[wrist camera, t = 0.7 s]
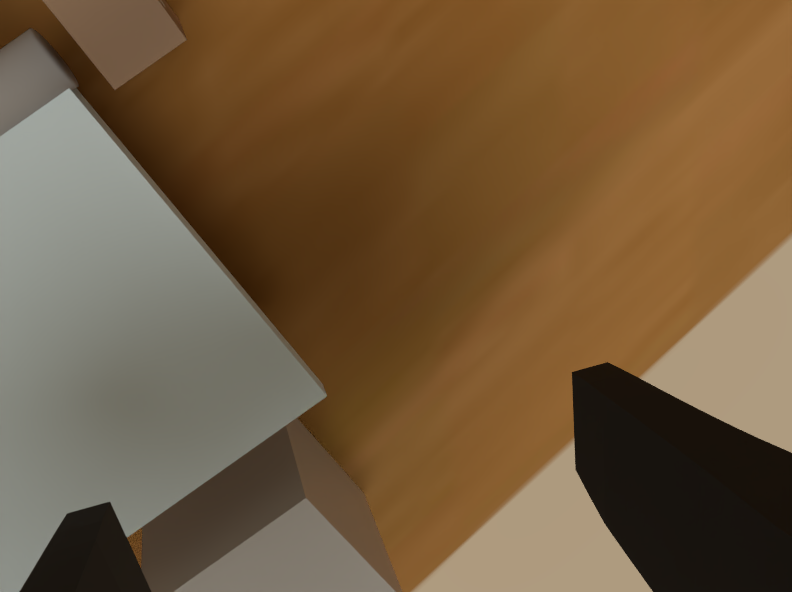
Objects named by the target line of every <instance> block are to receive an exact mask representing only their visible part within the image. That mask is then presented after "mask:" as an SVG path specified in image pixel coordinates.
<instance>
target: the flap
mask: <svg viewBox="0 0 792 592" xmlns="http://www.w3.org/2000/svg"><path fill="white" fill-rule="evenodd" d="M78 86H79V85H78V82H77V80H76V78H75V76H74V74H73V73H72V71H71V70H70V68H69V67H68V66H67V64H66V63H65V62H64V60H63V59H62V58H61V57H60V55H59V54H58V53H57V52H56V51H55V49H54V48H53V47H52V46H51V45H50V44H49V43H48V42H47V41H46V40H45V39H44V38H43V37H42V36H41V35H40V34H39V33H38V32H37V31H35V30H34V29H32V28H30V29H28V30H27V31H26V32H24V33H23V34H21V35H20V36H18V37H17V38H16V39H14V40H13V41H11V42H10V43H8V44H7V45H6V46H4V47H3V48H1V49H0V592H19V591H20V590H21V588H22V586H23V585H24V583H25V582H26V580H27V578H28V577H29V575H30V573H31V572H32V570H33V568H34V567H35V565H36V563H37V562H38V560H39V558H40V557H41V555H42V553H43V552H44V550H45V548H46V547H47V545H48V543H49V541H50V540H51V538H52V537H53V535H54V533H55V532H56V530H57V528H58V527H59V525H60V524H61V522H62V520H63V519H64V517H65V516H66V514H67V513H70V512H74V511H78V510H81V509H85V508H88V507H92V506H96V505H99V504H103V503H106V502H110V503H111V505H112V507H113V509H114V511H115V513H116V516H117V518H118V520H119V522H120V524H121V526H122V529H123V531H124V533H125V535H126V537H128V536H130V535H131V534H133V533H134V532H136V531H137V530H138V529H140V528H141V527H143V526H144V525H145V524H147V523H148V522H150V521H151V520H153V519H154V518H155V517H157V516H158V515H160V514H161V513H162V512H164V511H165V510H167V509H168V508H170V507H171V506H172V505H174V504H175V503H177V502H178V501H179V500H181V499H182V498H184V497H185V496H187V495H188V494H189V493H191V492H192V491H194V490H195V489H196V488H198V487H199V486H201V485H202V484H204V483H205V482H206V481H208V480H209V479H211V478H212V477H213V476H215V475H216V474H218V473H219V472H221V471H222V470H223V469H225V468H226V467H228V466H229V465H230V464H232V463H233V462H235V461H236V460H238V459H239V458H240V457H242V456H243V455H245V454H246V453H247V452H249V451H250V450H252V449H253V448H255V447H256V446H257V445H259V444H260V443H262V442H263V441H264V440H266V439H267V438H269V437H270V436H272V435H273V434H274V433H276V432H277V431H279V430H280V429H281V428H283V427H284V426H286V425H287V424H289V423H290V422H291V421H293V420H294V419H296V418H297V417H298V416H300V415H301V414H303V413H304V412H306V411H307V410H308V409H310V408H311V407H313V406H314V405H315V404H317V403H318V402H320V401H321V400H323V399H324V398H325V397H327V394H326V392H325V389H324V387H323V384H322V383H321V381H320V380H319V379H318V378H317V377H316V375H315V374H314V373H313V372H312V371H311V369H310V368H309V367H308V366H307V365H306V363H305V362H304V361H303V360H302V359H301V357H300V356H299V355H298V354H297V353H296V351H295V350H294V349H293V348H292V347H291V345H290V344H289V343H288V342H287V341H286V339H285V338H284V337H283V336H282V335H281V333H280V332H279V331H278V330H277V329H276V327H275V326H274V325H273V324H272V323H271V321H270V320H269V319H268V318H267V317H266V315H265V314H264V313H263V312H262V311H261V309H260V308H259V307H258V306H257V305H256V303H255V302H254V301H253V300H252V298H251V297H250V296H249V295H248V294H247V292H246V291H245V290H244V289H243V288H242V286H241V285H240V284H239V283H238V282H237V280H236V279H235V278H234V277H233V276H232V274H231V273H230V272H229V271H228V270H227V268H226V267H225V266H224V265H223V264H222V262H221V261H220V260H219V259H218V258H217V256H216V255H215V254H214V253H213V252H212V250H211V249H210V248H209V247H208V246H207V244H206V243H205V242H204V241H203V240H202V238H201V237H200V236H199V235H198V234H197V232H196V231H195V230H194V229H193V228H192V226H191V225H190V224H189V223H188V222H187V220H186V219H185V218H184V217H183V216H182V214H181V213H180V212H179V211H178V210H177V208H176V207H175V206H174V205H173V204H172V202H171V201H170V200H169V199H168V198H167V196H166V195H165V194H164V193H163V192H162V190H161V189H160V188H159V187H158V186H157V184H156V183H155V182H154V181H153V180H152V178H151V177H150V176H149V175H148V174H147V172H146V171H145V170H144V169H143V168H142V166H141V165H140V164H139V163H138V162H137V160H136V159H135V158H134V157H133V156H132V154H131V153H130V152H129V151H128V150H127V148H126V147H125V146H124V145H123V144H122V142H121V141H120V140H119V139H118V137H117V136H116V135H115V134H114V133H113V131H112V130H111V129H110V128H109V127H108V125H107V124H106V123H105V122H104V121H103V119H102V118H101V117H100V116H99V115H98V113H97V112H96V111H95V110H94V109H93V107H92V106H91V105H90V104H89V103H88V101H87V100H86V99H85V98H84V97H83V95H82V94H81V93H80V92H79V91H78V89H77V87H78Z"/></svg>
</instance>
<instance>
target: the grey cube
mask: <svg viewBox="0 0 792 592" xmlns="http://www.w3.org/2000/svg"><path fill="white" fill-rule="evenodd" d="M141 570H142V572H143V574H144V577H145V579H146V581H147V583H148V585H149V587H150V590H151V592H402V590H401V587H400V585H399V582H398V580H397V577H396V574H395V572H394V569H393V567H392V564H391V562H390V559H389V556H388V554H387V551H386V549H385V546H384V544H383V541H382V538H381V536H380V533H379V531H378V528H377V526H376V523H375V521H374V518H373V515H372V513H371V510H370V508H369V505H368V503H367V500H366V497H365V495H364V493H363V492H362V491H361V489H360V488H359V487H358V486H357V485H356V484H355V483H354V482H353V480H352V479H351V478H350V477H349V476H348V475H347V474H346V473H345V471H344V470H343V469H342V468H341V467H340V466H339V465H338V464H337V462H336V461H335V460H334V459H333V458H332V457H331V456H330V455H329V453H328V452H327V451H326V450H325V449H324V448H323V447H322V446H321V444H320V443H319V442H318V441H317V440H316V439H315V438H314V437H313V435H312V434H311V433H310V432H309V431H308V430H307V429H306V428H305V426H304V425H303V424H302V423H301V422H300V421H299V420H298V418H296V419H294V420H293V421H291V422H290V423H289V424H287V425H286V426H284V427H283V428H281V429H280V430H279V431H277V432H276V433H274V434H273V435H272V436H270V437H269V438H267V439H266V440H264V441H263V442H262V443H260V444H259V445H257V446H256V447H255V448H253V449H252V450H250V451H249V452H247V453H246V454H245V455H243V456H242V457H240V458H239V459H238V460H236V461H235V462H233V463H232V464H230V465H229V466H228V467H226V468H225V469H223V470H222V471H221V472H219V473H218V474H216V475H215V476H213V477H212V478H211V479H209V480H208V481H206V482H205V483H204V484H202V485H201V486H199V487H198V488H196V489H195V490H194V491H192V492H191V493H189V494H188V495H187V496H185V497H184V498H182V499H181V500H179V501H178V502H177V503H175V504H174V505H172V506H171V507H170V508H168V509H167V510H165V511H164V512H162V513H161V514H160V515H158V516H157V517H155V518H154V519H153V520H151V521H150V522H148V523H147V524H145V525H144V526H143V527H142V562H141Z"/></svg>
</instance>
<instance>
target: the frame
mask: <svg viewBox="0 0 792 592" xmlns="http://www.w3.org/2000/svg"><path fill="white" fill-rule="evenodd" d="M43 1H44V3H45V4H46V5H47V6H48V8H49V9H50V10H51V11H52V13H53V14H54V15H55V16H56V18H57V19H58V20H59V21H60V23H61V24H62V25H63V26H64V28H65V29H66V30H67V31H68V33H69V34H70V35H71V36H72V38H73V39H74V40H75V41H76V42H77V44H78V45H79V46H80V47H81V49H82V50H83V51H84V52H85V54H86V55H87V56H88V57H89V59H90V60H91V61H92V62H93V64H94V65H95V66H96V67H97V69H98V70H99V71H100V72H101V74H102V75H103V76H104V77H105V79H106V80H107V81H108V82H109V83H110V85H111V86H112V87H113V88H114V90H116V89H117V88H119V87H120V86H122V85H123V84H124V83H126V82H127V81H129V80H130V79H132V78H133V77H134V76H136V75H137V74H139V73H140V72H141V71H143V70H144V69H146V68H147V67H149V66H150V65H151V64H153V63H154V62H156V61H157V60H159V59H160V58H161V57H163V56H164V55H166V54H167V53H169V52H170V51H171V50H173V49H174V48H176V47H177V46H179V45H180V44H181V43H183V42H184V41H186V40H187V39H186V36H185V34H184V31H183V29H182V26H181V24H180V21H179V19H178V17H177V16H176V14H175V13H174V12H173V10H172V9H171V7H170V6H169V5H168V3H167V2H166V1H165V0H43Z"/></svg>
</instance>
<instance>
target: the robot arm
mask: <svg viewBox="0 0 792 592" xmlns="http://www.w3.org/2000/svg"><path fill="white" fill-rule="evenodd" d="M572 385H573V411H574V438H575V464H576V471H577V473H578V475H579V477H580V479H581V481H582V483H583V484H584V486H585V488H586V490H587V492H588V494H589V496H590V498H591V500H592V501H593V503H594V505H595V507H596V509H597V510H598V512H599V514H600V516H601V518H602V519H603V521H604V523H605V524H606V526H607V527H608V529H609V530H610V532H611V533H612V535H613V536H614V537H615V539H616V540H617V542H618V543H619V544H620V546H621V547H622V549H623V550H624V552H625V553H626V554H627V556H628V557H629V559H630V560H631V561H632V563H633V564H634V566H635V567H636V568H637V570H638V571H639V573H640V574H641V575H642V577H643V578H644V580H645V581H646V582H647V584H648V585H649V587H650V588H651V589H652V591H653V592H792V453H791V452H788V451H786V450H784V449H781V448H779V447H777V446H775V445H772V444H770V443H768V442H765V441H763V440H761V439H758V438H756V437H754V436H752V435H750V434H748V433H746V432H744V431H742V430H739V429H737V428H735V427H733V426H731V425H729V424H727V423H725V422H723V421H721V420H719V419H717V418H715V417H712V416H711V415H709V414H707V413H705V412H703V411H701V410H698V409H697V408H695V407H693V406H691V405H689V404H687V403H685V402H683V401H681V400H679V399H677V398H675V397H674V396H672V395H670V394H668V393H666V392H664V391H662V390H660V389H658V388H656V387H655V386H653V385H651V384H649V383H647V382H645V381H643V380H641V379H640V378H638V377H636V376H634V375H632V374H630V373H628V372H626V371H624V370H622V369H620V368H618V367H616V366H614V365H612V364H610V363H608V362H607V363H603V364H600V365H596V366H593V367H589V368H586V369H582V370H578V371H575V372H572ZM19 592H151V590H150V587H149V585H148V583H147V581H146V579H145V577H144V574H143V572H142V570H141V568H140V566H139V564H138V561H137V559H136V557H135V555H134V553H133V550H132V548H131V546H130V544H129V542H128V540H127V537H126V535H125V533H124V531H123V529H122V526H121V524H120V522H119V520H118V518H117V516H116V513H115V511H114V509H113V507H112V505H111V503H110V502H106V503H103V504H99V505H96V506H92V507H88V508H85V509H81V510H78V511H74V512H70V513H67V514H66V516H65V517H64V519H63V520H62V522H61V524H60V525H59V527H58V528H57V530H56V532H55V533H54V535H53V537H52V538H51V540H50V541H49V543H48V545H47V547H46V548H45V550H44V552H43V553H42V555H41V557H40V558H39V560H38V562H37V563H36V565H35V567H34V568H33V570H32V572H31V573H30V575H29V577H28V578H27V580H26V582H25V583H24V585H23V586H22V588H21V590H20V591H19Z"/></svg>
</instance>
